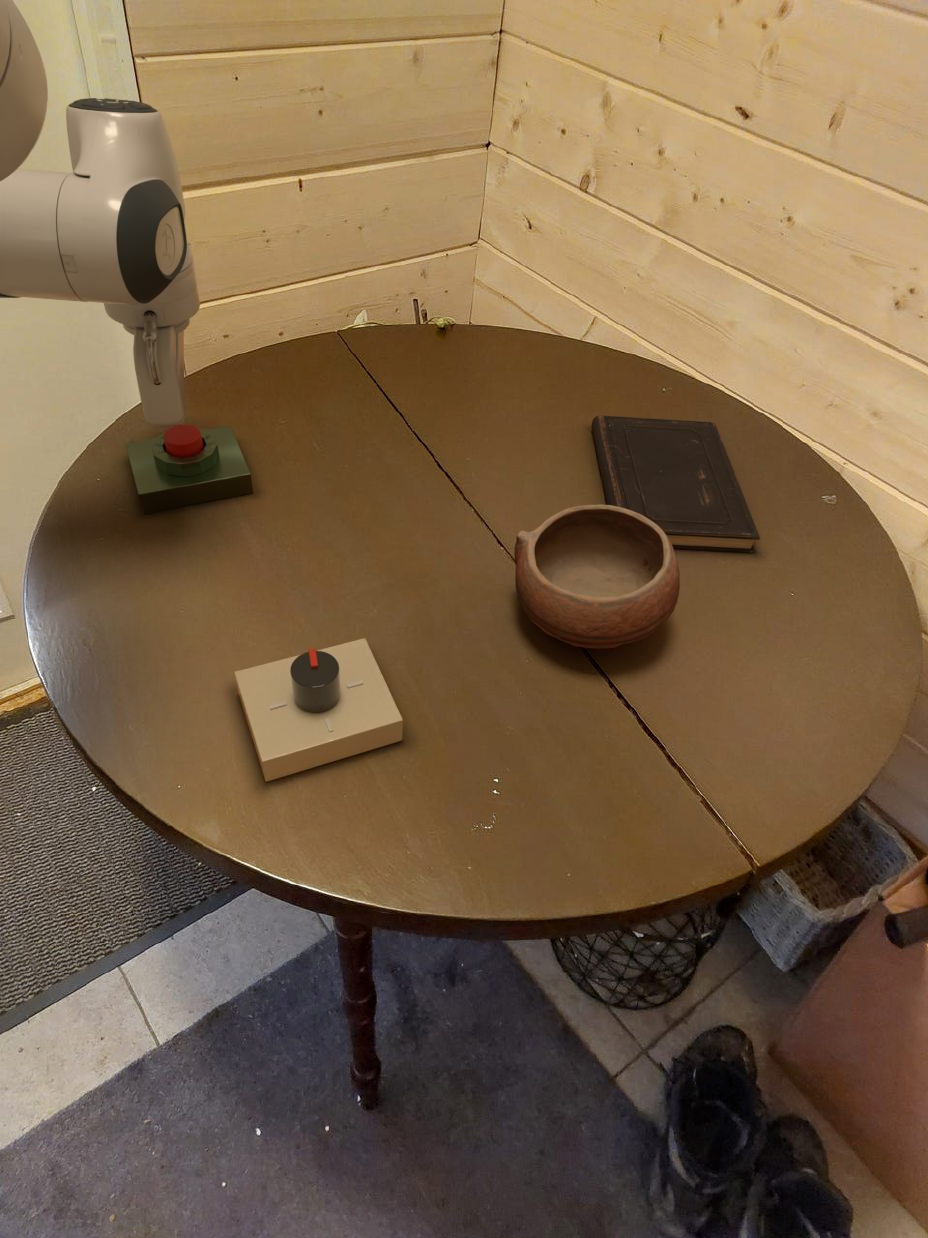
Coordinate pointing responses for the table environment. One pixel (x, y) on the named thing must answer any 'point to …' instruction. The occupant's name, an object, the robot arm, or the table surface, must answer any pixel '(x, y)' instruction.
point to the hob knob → (315, 681)
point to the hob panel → (324, 737)
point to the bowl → (597, 576)
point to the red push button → (183, 440)
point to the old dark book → (675, 480)
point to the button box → (189, 471)
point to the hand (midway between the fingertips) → (175, 415)
